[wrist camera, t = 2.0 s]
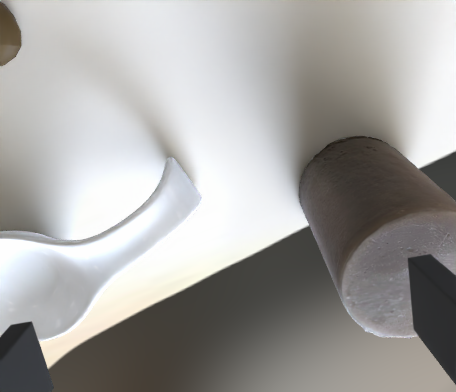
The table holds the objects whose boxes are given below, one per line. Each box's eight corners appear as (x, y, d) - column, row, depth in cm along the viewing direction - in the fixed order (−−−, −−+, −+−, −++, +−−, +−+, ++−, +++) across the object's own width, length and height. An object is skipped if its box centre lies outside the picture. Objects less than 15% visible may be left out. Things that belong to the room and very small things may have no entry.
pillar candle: (323, 121, 36) (390, 198, 23) (427, 153, 38) (547, 244, 24) (282, 220, 40) (318, 337, 27) (378, 246, 42) (458, 369, 28)
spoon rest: (30, 335, 45) (-1, 393, 38) (-61, 253, 40) (-113, 303, 34) (224, 221, 40) (226, 265, 33) (145, 115, 36) (130, 142, 29)
